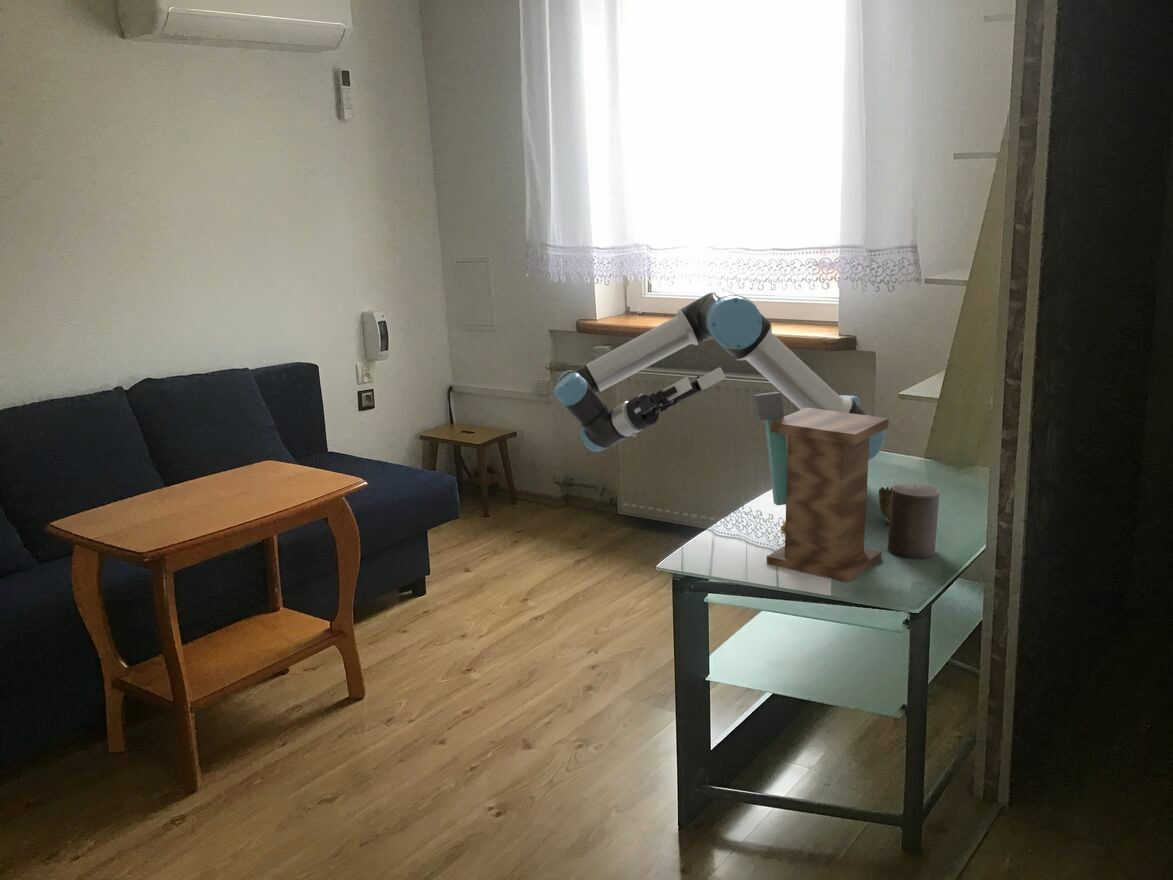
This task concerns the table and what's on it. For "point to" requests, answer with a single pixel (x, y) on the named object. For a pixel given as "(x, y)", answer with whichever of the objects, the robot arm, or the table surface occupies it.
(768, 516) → the table surface
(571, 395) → the robot arm
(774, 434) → the hammer
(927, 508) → the pillar candle
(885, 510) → the cup
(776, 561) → the shelf stand
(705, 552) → the table surface
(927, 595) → the table surface
